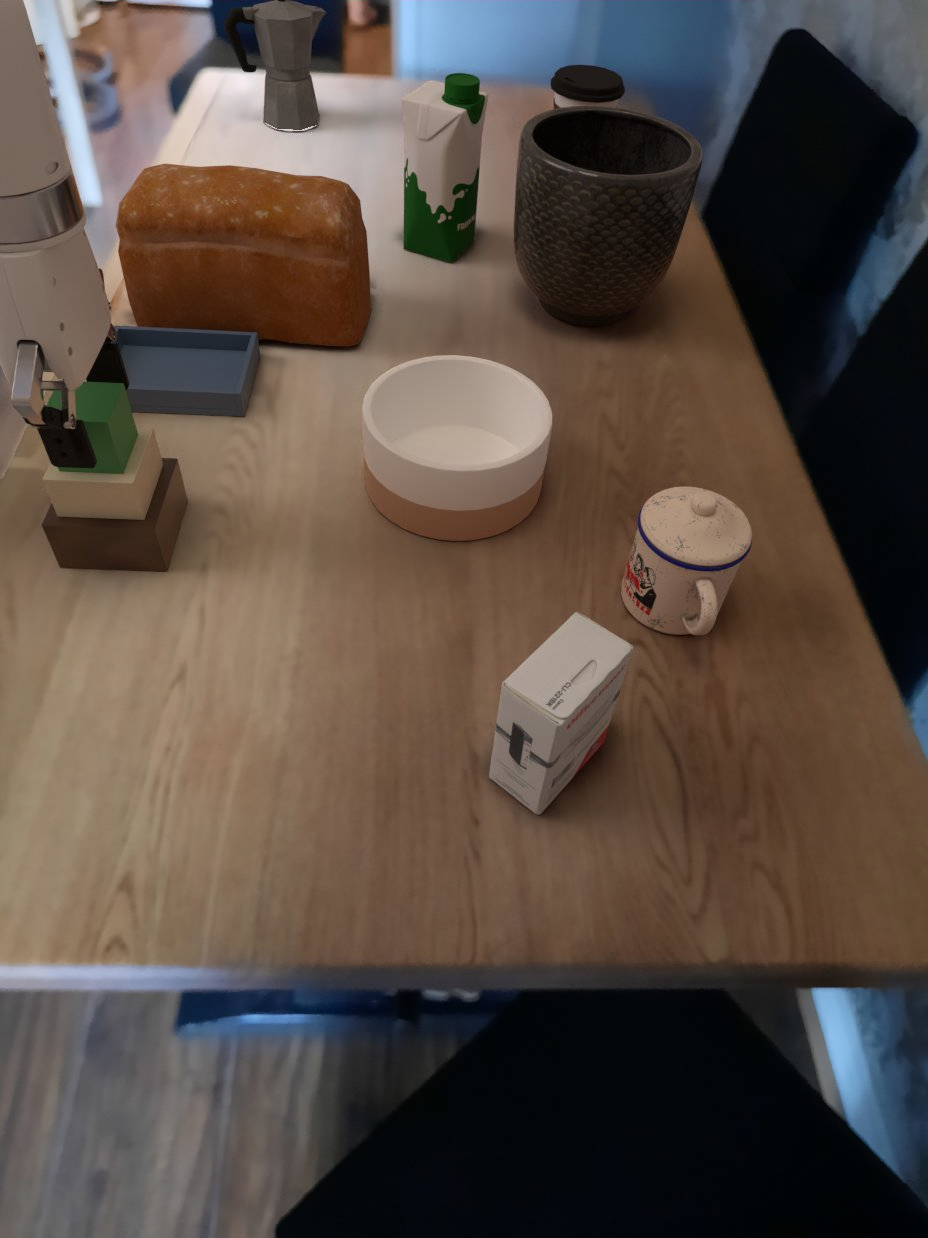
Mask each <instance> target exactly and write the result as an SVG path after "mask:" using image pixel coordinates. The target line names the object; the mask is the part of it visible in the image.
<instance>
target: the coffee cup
mask: <svg viewBox="0 0 928 1238" xmlns="http://www.w3.org/2000/svg"><path fill="white" fill-rule="evenodd" d="M550 90H552V91H553V92H554V98H553V109H558V108H563V107H571V106H607V107H617V105H618V102H619V100H620V99H622V97H623V96H624V95H625V91H626V88H625V84H624V80H623V77H622V76H621V75H620V74H619V73H617V72H615V71H614V70H611V69H610V68H609V69H608V68H606V67H601V66H597V65H591V64H568V65H565V66H563V67H560V68H558V69H557V70H556V71H555V72H554V76H552V77H551V78H550Z"/></svg>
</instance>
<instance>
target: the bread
mask: <svg viewBox="0 0 928 1238" xmlns="http://www.w3.org/2000/svg"><path fill="white" fill-rule="evenodd" d="M362 213H363V212H362V205H361V199H360V198H359V196H358V194H357V193H356V192H355V191H354V190H353V188H352V187H351V186H350V185H349V183H347V182H344V181H342V180H339V179H335V178H330V177H327V176H322V175H305V174H304V175H303V174H302V175H301V174H292V173H285V172H281V171H275V170H268V169H263V168H257V167H249V166H240V165H239V166H238V165H230V164H229V165H227V164H226V165H210V166H209V165H208V166H205V165H204V166H194V165H185V164H184V165H183V164H173V163H161V164H156V165H152V166H149V167H145V168H143V169H142V171H141V172H140V173H139V174H138V176H137V177H136V179H135V180H134V182H133V183H132V185H131V186H130V187H129V189H128V190H127V192H126V193H125V195H124V196H123V197H122V198H121V200H120V202H119V203H118V210H117V215H116V222H115V228H116V231H117V236H118V238H119V243H118V249H117V252H118V258H119V263H120V267H121V272H122V276H123V281H124V285H125V291H126V295H127V299H128V303H129V305H130V309H131V312H132V314H133V317H134V321H135V324H136V326H137V327H157V328H177V329H197V330H216V331H236V332H256V333H258V340H267V341H269V340H271V341H276V342H284V343H289V344H299V345H310V346H311V345H312V346H326V347H327V346H328V347H330V346H331V347H352V346H355V345H358V344H360V343H361V341H362V338H363V337H364V334H365V332H366V331H367V327H368V324H369V319H370V317H371V313H372V303H371V302H372V301H371V273H370V260H369V258H370V257H369V243H368V232H367V229H366V225H365V222H364V219H363V214H362Z"/></svg>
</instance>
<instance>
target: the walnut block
mask: <svg viewBox="0 0 928 1238" xmlns="http://www.w3.org/2000/svg"><path fill="white" fill-rule="evenodd" d="M161 459H162V462H163V467H162V470H161V473H160V476H159V479H158V482H157V485H156V488H155V491H154V494H153V496H152V499H151V502H150V505H149V508H148V511H147V514H146V517H145V520H131V519H105V518H80V517H58V516H57V514H56V511H55V509H54V506H53V504H52V502H51V503H50V505H49V507H48V509H47V512H46V514H45V516H44V518H43V520H42V523H41V527H42V530H43V533H44V535H45V536H46V539H47V541H48V543H49V546H50V548H51V551H52V553H53V555H54V558H55V559H56V561H57V565H58V566H59V568H60V569H85V570H86V569H89V570H90V569H91V570H115V571H118V570H119V571H144V572H145V571H146V572H168V569H169V565H170V563H171V559H172V557H173V556H172V555H173V553H174V549H175V545H176V543H177V539H178V535H179V532H180V529H181V526H182V522H183V519H184V516H185V512H186V509H187V506H188V503H189V498H188V495H187V490H186V487H185V483H184V480H183V479H184V478H183V475H182V471H181V467H180V462H179V459H178V458H175V457H174V458H172V457H161Z"/></svg>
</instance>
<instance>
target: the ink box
mask: <svg viewBox="0 0 928 1238" xmlns="http://www.w3.org/2000/svg"><path fill="white" fill-rule="evenodd" d="M633 652H634V646H633V644H631V643H630V642H628V641H626V640H625V639H623V638H621V637H619V636H618V635H617V634H615V633H613V632H611V630H608V629H607V628H605V627H604V626H602V625H600V624H599V623H597V622H595V621H594V620H593V619H591V618H590V617H588V616H586V615H584V614H582V613H581V612H579V611H575V612H574V613H573V614H572V615H571V616H570V617H568V619H566V621H565V622H564V623H563V624H562V625H561V626H559V627H558V629H556V630H555V631H554V632H553V633H552V634H551V635H550V636H549V637H548V638H546V640H545V641H544V642H543V643H542V644H541V645H540V646H539V647H538V648H536V650H535V651H534V652H532V653H531V654H530V655H529V656H528V657H527V658H526V659H525V660H524V661H523V662H522V663H521V664H520V665H519V666H518V667H517V668H516V669H515V670H513V672H512V673H511V674H510V675H509V676H507V678H505V680H503V681H502V683H501V688H500V689H501V690H500V694H499V695H500V696H499V703H498V709H497V716H496V723H495V731H494V737H493V738H494V739H493V745H492V752H491V760H490V767H489V773H488V778H489V779H490V780H491V781H493V782H494V783H495V784H497V786H499V787H500V788H502V789H503V790H505V791H506V792H507V793H508V794H510V795H511V796H512V797H513V798H514V799H516V800H517V801H518V802H520V804H522V805H524V806H525V807H526V808H527V809H529V810H530V811H531V812H533V813H534V815H538V816H539V815H541V814H543V812H544V811H545V810H546V809H547V808H548V806H550V804H552V802H553V801H554V800H555V799H556V798H557V796H558V795H559V794H560V793H561V792H562V791H563V790H564V788H566V786H568V784H569V783H570V782H571V780H572V779H573V778H574V777H575V776H576V775H577V774H578V773H579V771H580V770H581V769H582V768H583V767H584V766H585V765H586V764H587V762H588V761H589V760H590V759H591V758H592V757H593V755H595V753H596V752H597V751H598V749H600V748H601V747H602V745H603V744H604V743H605V739H606V737H607V733H608V731H609V727H610V724H611V721H612V718H613V714H614V712H615V708H616V706H617V703H618V698H619V696H620V693H621V689H622V686H623V683H624V680H625V677H626V675H627V671H628V668H629V665H630V661H631V657H632V656H633Z"/></svg>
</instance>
